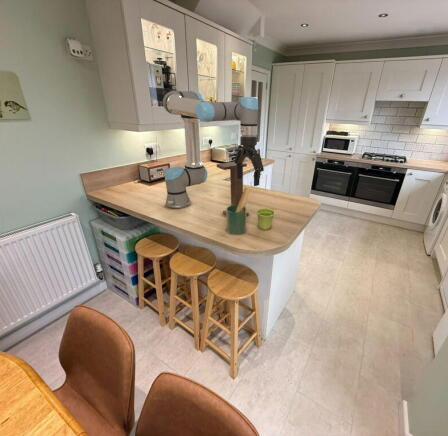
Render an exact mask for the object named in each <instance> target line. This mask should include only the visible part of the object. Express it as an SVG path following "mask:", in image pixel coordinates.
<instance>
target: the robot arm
mask: <svg viewBox="0 0 448 436" xmlns="http://www.w3.org/2000/svg"><path fill="white" fill-rule="evenodd" d="M162 106H163V108H164V110H165V111H166V112H167V113H168V114H171V115H175V116H180V118H181V119H182V120H183V125H184V139H185V140H184V141H185V154H186V162H185V163H184V167H183V166H173V167H169V168H167V169H166V170H165V171H164V180H165V182H164V183H165V187H166V193H167V194H166V199H165V206H166V208H168V209H172V210H180V209H184V208H187V207H189V206H190V205H191V199H190V197H189V194H188V192H187V187H192V186H197V185H198V186H199V185H201V184H204V183H206V181H207V179H208V170H207V167H206V166H205V165H204V163H203V162H202V158H201V157H202V156H201V135H200V122H202V123H203V122H205V123H210V122H223V121H224V122H227V121H228V122H229V121H239V123H240V124H239V125H240V128H239V129H240V133H239V134H240V137H239V145H237V151H236V154H235V158H234V161H233V162H234V163H236V165H237V179H241V178H243V179H244V167H243V164H242V163H244V162H245V159H246V158H248V159H249V160H250V162H251V164H252V167H253V170H254V171H253V186H254V187H257V186H260V179H261V173H262V172H264V171H265V168H264V165H263V161H262V156H261V149H260V148H256V146H257V145H258V137H257V135H258V120H259V117H258V116H259V99H258V97H256V96H241V97H240V100H239V102H238V101H209V100H205V98H204V97H203V95H202V93H200V92H197V91H193V90H192V91H190V90H189V91H188V90H186V91H185V90H171V91H169V92H167V93H166V94H165V95H164V96H163V99H162Z"/></svg>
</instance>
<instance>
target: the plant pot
mask: <svg viewBox="0 0 448 436" xmlns="http://www.w3.org/2000/svg"><path fill="white" fill-rule="evenodd" d="M256 215H257V221H258V228H259V229H261V230H269V229H271V228H272V222H273V218H274V216H275V215H276V212H275V210H273V209H271V208H264V207H263V208H259V209H257V210H256Z"/></svg>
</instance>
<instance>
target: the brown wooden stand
mask: <svg viewBox="0 0 448 436" xmlns="http://www.w3.org/2000/svg"><path fill="white" fill-rule="evenodd" d="M242 164H243V168H245V167H247V166H248V164H247V163H246V162H243V163H242ZM216 168H218V169H220V170H223V171H228V170H229V172H230V173H229V174H230V175H229V176H230V206H231V205H238V204H239V201H240V199H241V196H242V194H243V192H244V177H243V178H241V179H237V165H236V163H234V161H229V162H223V163H216ZM222 214H223V215H224V216H226V217H227V213H226V210H223V211H222ZM249 215H250V213H249V212H248V211H246V217H249Z"/></svg>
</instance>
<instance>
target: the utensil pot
mask: <svg viewBox="0 0 448 436" xmlns="http://www.w3.org/2000/svg"><path fill="white" fill-rule="evenodd" d="M237 206H238V205H231V204H230V205H228V206H227V207H226V213H227V216H226V231H227V233H229V234H231V235H242V234H244V233H245V232H246V231H247V216H246V212H247V208H246V206H245V207H244V209H243V211H241V212H235V211H236V209H237Z"/></svg>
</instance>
